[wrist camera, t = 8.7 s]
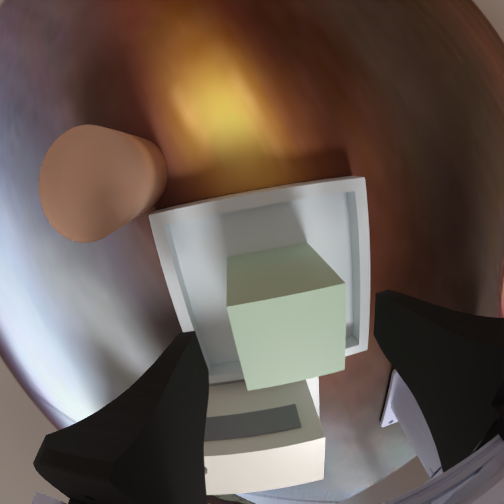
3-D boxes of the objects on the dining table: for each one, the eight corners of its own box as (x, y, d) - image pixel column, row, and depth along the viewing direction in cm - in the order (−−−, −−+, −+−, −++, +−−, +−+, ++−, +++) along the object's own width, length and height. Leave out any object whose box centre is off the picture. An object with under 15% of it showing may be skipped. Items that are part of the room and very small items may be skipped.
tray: (352, 175, 13) (364, 177, 12) (358, 337, 16) (367, 349, 15) (156, 210, 13) (148, 215, 12) (204, 369, 16) (202, 384, 15)
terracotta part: (160, 126, 12) (123, 107, 7) (175, 205, 13) (146, 228, 8) (89, 149, 12) (31, 148, 7) (105, 223, 13) (53, 252, 8)
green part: (307, 242, 14) (345, 283, 9) (313, 311, 15) (344, 369, 10) (227, 257, 14) (226, 306, 9) (241, 325, 15) (247, 390, 10)
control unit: (314, 348, 16) (347, 423, 10) (317, 420, 19) (337, 481, 13) (160, 373, 16) (141, 449, 10) (196, 439, 18) (192, 501, 13)
